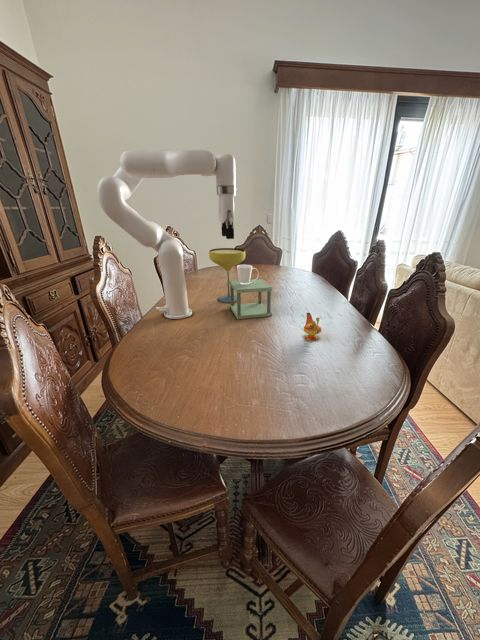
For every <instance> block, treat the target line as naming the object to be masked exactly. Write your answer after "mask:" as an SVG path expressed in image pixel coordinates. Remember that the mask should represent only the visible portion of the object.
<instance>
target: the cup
mask: <svg viewBox="0 0 480 640" xmlns="http://www.w3.org/2000/svg"><path fill="white" fill-rule="evenodd" d="M236 270H237V271H236V272H237V276H238V277H237V278H238V280H239V281H240V282H241V283H240V284H241V285H249V284H252V283H254V282H255V281H256V280H257V279H260V278H259V277H260V272H259V270H258V268H256V267H253V265H251V264H237V265H236ZM254 270H256V272H257V277H256V278H255V279H256V280H254V281H253V282H251V283H248V282H249V281H250V279H251V278H252V271H254Z"/></svg>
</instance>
